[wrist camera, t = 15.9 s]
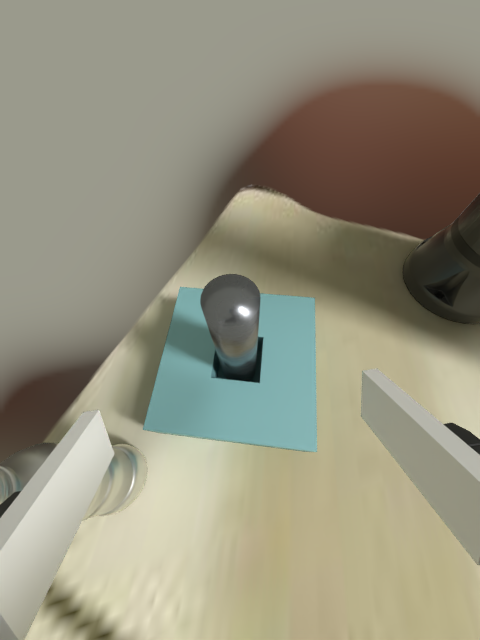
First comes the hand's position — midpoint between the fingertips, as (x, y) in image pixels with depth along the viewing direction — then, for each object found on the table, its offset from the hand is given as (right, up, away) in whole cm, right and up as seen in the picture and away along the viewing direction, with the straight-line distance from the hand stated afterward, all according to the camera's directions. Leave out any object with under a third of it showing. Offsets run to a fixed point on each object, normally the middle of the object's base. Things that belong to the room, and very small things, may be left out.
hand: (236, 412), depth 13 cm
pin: (0, -2, +22) cm, 22 cm away
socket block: (0, -2, +23) cm, 23 cm away
